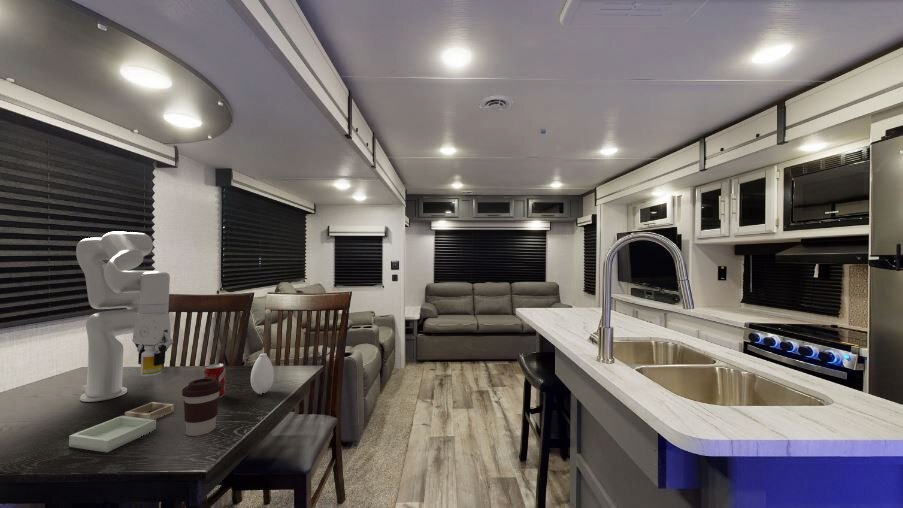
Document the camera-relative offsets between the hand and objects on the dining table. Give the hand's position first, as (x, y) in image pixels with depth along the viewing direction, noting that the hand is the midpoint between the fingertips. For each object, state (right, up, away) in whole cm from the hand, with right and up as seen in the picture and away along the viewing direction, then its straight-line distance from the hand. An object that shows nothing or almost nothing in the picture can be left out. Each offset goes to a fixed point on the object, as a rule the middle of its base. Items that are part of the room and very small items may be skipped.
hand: (151, 363), depth 117 cm
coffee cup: (+23, -18, -10) cm, 31 cm away
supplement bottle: (0, -4, 0) cm, 4 cm away
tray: (+2, -17, -15) cm, 23 cm away
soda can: (+10, -18, +16) cm, 26 cm away
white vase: (+25, -19, +21) cm, 38 cm away
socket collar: (0, -17, 0) cm, 17 cm away
